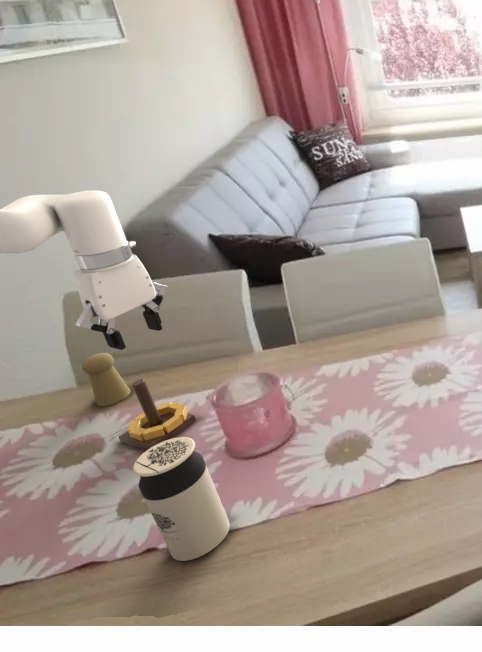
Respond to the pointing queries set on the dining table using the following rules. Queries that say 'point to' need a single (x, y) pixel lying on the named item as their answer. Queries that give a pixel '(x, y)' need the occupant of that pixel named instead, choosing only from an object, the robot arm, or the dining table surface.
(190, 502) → the travel mug
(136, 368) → the dining table surface
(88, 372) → the cork
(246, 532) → the dining table surface
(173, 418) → the brass ring
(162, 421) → the peg stand
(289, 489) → the dining table surface
